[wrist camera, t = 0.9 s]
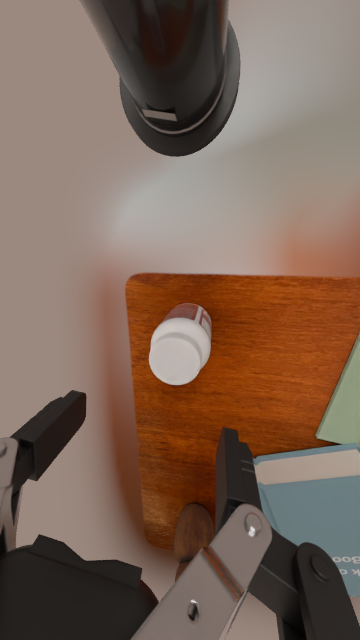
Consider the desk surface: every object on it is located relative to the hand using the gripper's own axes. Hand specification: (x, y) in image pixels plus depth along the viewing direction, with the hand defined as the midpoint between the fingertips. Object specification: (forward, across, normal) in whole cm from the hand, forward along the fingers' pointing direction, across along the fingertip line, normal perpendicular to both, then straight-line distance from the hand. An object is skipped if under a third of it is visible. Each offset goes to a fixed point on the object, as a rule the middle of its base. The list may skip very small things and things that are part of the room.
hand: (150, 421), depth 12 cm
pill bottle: (+18, 0, 0) cm, 18 cm away
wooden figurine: (+19, -7, +35) cm, 40 cm away
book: (+18, -24, +26) cm, 40 cm away
